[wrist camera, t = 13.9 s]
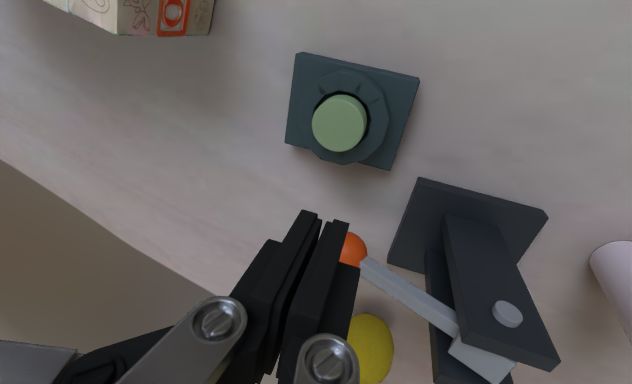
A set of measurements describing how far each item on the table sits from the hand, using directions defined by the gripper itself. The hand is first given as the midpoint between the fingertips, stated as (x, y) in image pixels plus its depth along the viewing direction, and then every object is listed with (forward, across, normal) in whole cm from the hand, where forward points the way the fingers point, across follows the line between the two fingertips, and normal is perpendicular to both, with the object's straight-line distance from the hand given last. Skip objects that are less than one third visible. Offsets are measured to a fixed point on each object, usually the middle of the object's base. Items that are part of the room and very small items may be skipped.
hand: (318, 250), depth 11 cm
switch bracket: (+17, -10, +8) cm, 21 cm away
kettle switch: (+9, -6, +8) cm, 13 cm away
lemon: (+17, -6, +21) cm, 28 cm away
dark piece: (+16, +2, -1) cm, 17 cm away
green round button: (+13, +2, -1) cm, 14 cm away
